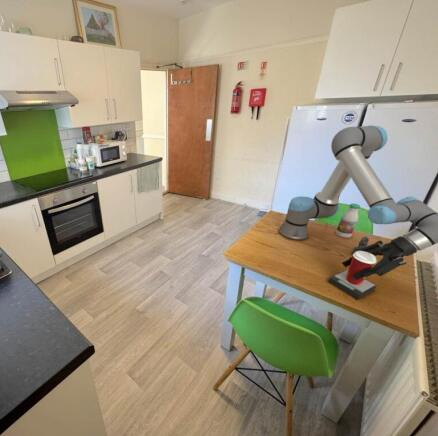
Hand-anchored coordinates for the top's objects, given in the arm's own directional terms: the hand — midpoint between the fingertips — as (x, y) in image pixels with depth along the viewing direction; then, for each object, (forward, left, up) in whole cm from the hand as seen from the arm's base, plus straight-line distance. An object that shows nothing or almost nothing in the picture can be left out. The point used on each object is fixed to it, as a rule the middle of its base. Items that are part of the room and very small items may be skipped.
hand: (348, 271), depth 104 cm
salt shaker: (-31, -10, -9) cm, 33 cm away
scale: (-3, +2, -8) cm, 9 cm away
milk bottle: (-46, -26, -9) cm, 53 cm away
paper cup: (-3, +2, -5) cm, 6 cm away
